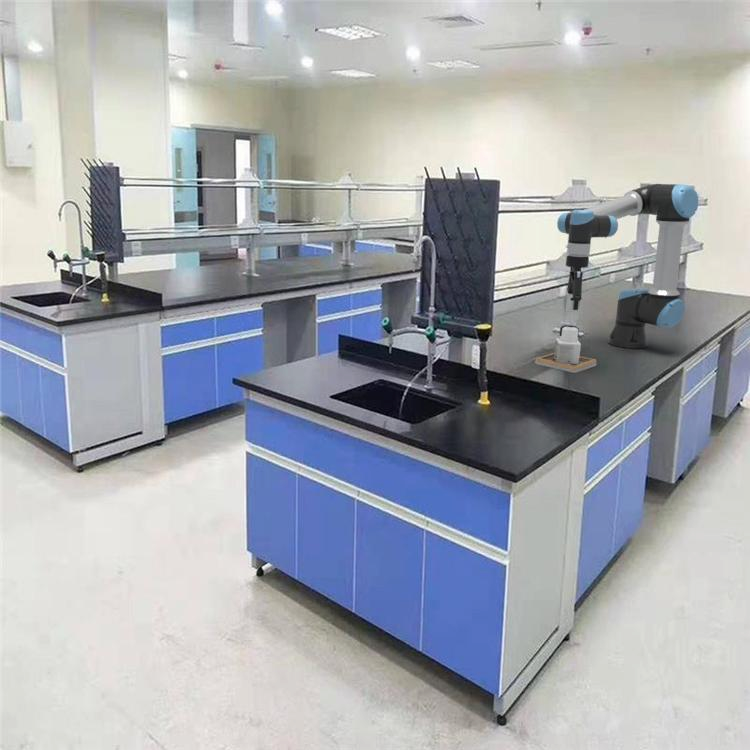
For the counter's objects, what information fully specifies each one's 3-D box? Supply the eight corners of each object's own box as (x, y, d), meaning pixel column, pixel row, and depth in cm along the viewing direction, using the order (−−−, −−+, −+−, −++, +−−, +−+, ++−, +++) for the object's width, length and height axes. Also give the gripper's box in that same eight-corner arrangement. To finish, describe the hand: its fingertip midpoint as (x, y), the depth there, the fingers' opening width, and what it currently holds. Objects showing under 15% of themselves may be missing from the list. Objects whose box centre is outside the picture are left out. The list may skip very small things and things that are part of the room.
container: (553, 358, 259) (557, 323, 255) (575, 359, 258) (579, 324, 255) (556, 363, 251) (560, 328, 248) (578, 364, 251) (582, 329, 247)
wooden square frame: (557, 357, 266) (557, 351, 265) (596, 365, 255) (597, 359, 255) (534, 363, 255) (535, 357, 254) (574, 373, 244) (575, 366, 244)
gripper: (563, 251, 257) (557, 308, 263) (571, 259, 233) (564, 321, 239) (584, 252, 256) (578, 309, 262) (594, 260, 232) (587, 322, 238)
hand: (571, 315), depth 250 cm, fingers open, 13 cm apart
